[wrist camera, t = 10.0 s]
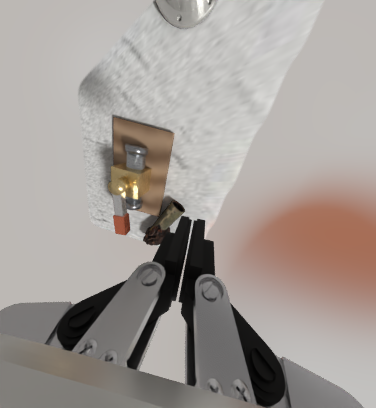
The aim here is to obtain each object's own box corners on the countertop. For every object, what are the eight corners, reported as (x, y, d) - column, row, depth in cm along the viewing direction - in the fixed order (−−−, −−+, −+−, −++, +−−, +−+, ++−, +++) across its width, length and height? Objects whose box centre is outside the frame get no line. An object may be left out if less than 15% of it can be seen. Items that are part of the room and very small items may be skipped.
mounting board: (117, 117, 34) (113, 116, 33) (174, 133, 34) (173, 133, 32) (116, 201, 44) (113, 203, 43) (160, 214, 44) (158, 216, 43)
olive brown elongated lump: (174, 197, 41) (169, 205, 36) (190, 211, 42) (188, 221, 37) (144, 231, 48) (137, 242, 43) (159, 242, 49) (154, 254, 44)
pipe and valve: (129, 142, 35) (110, 142, 28) (154, 149, 35) (141, 151, 28) (126, 198, 42) (111, 209, 36) (147, 204, 42) (136, 216, 35)
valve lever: (116, 176, 31) (106, 179, 28) (129, 178, 31) (121, 182, 28) (122, 225, 37) (114, 233, 34) (133, 227, 36) (126, 235, 33)
